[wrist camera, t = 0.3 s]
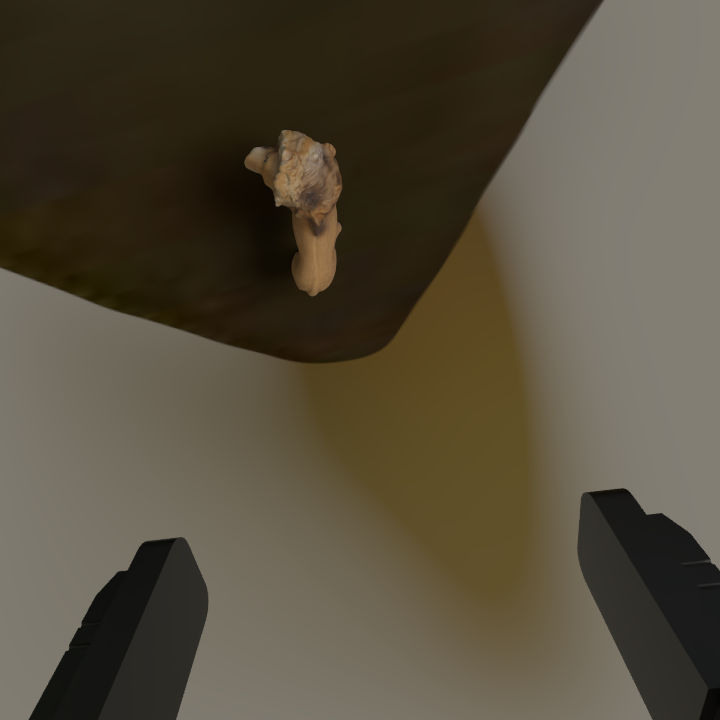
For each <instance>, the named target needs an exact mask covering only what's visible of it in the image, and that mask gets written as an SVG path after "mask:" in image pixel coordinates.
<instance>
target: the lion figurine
mask: <svg viewBox="0 0 720 720" xmlns="http://www.w3.org/2000/svg"><path fill="white" fill-rule="evenodd" d="M335 153H336V151H335V148H334V147H333V146H332V145H331V144H329V143H324V144H320V143H318V142H315V141H313V140H312V139H311V138H310V137H307V136H306V135H305V134H303V133H302V134H301V133H300V132H297V131H290V130H283V131H281V135H280V136H279V138H278V144H277V146H275V147H264V146H263V147H256V148H254V149H253V150H252V151H251V152H250V154H249V155H248V156H247V157H246V159H245V166H246V167H247V168H248V169H250V170H252V171H254V172H256V173H259V174H261V175H262V176H263V179H264V182H265V184H266V185H267V186H268V187H270V188H271V189H272V190H273V194H274V196H275V202H276V206H280V205H284V206H287V207H289V209H290V210H291V211H292V223H293V230H294V235H295V238H296V242H297V246H298V249H299V252H296V253H295V254H294V257H293V260H292V274H293V277H294V280H295V282H296V284H297V286H298V288H299V289H300V290H303V291H307V292H308V294H309V295H310V296H315V295H317V293H318V292H319V291H323V290H324V289H326V288H327V287H328V286H329V285H330V283H331V281H332V279H333V277H334V274H335V270H336V251H335V248H334V246H335V241H336V238H337V236H338V234H339V233H340V231H341V225H340V223H339V222H337V210H336V202H337V200H338V198H339V195H340V193H341V190H342V182H341V175H340V173H339V167H338V163H337V161H336V159H335V158H334V156H335Z"/></svg>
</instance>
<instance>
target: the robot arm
mask: <svg viewBox="0 0 720 720" xmlns="http://www.w3.org/2000/svg"><path fill="white" fill-rule="evenodd" d="M578 558H579V563H580V566H581V570H582V573H583V576H584V579H585V581H586V583H587V585H588V587H589V589H590V591H591V593H592V596H593V598H594V600H595V602H596V604H597V606H598V608H599V610H600V612H601V614H602V616H603V618H604V620H605V622H606V624H607V626H608V629H609V631H610V633H611V635H612V637H613V639H614V641H615V643H616V645H617V647H618V649H619V651H620V653H621V655H622V657H623V660H624V662H625V664H626V666H627V668H628V670H629V672H630V674H631V676H632V678H633V680H634V682H635V684H636V686H637V688H638V690H639V692H640V695H641V697H642V699H643V701H644V703H645V705H646V707H647V709H648V711H649V713H650V715H651V717H652V719H653V720H720V571H719V569H718V568H717V567H716V565H714V564H712V563H711V561H710V558H709V557H708V555H707V554H706V553H705V551H704V550H703V549H702V548H701V547H700V545H699V544H698V543H697V541H696V540H695V539H694V538H693V536H692V535H691V534H690V533H689V532H688V531H686V530H685V529H683V528H682V527H681V526H679V525H677V524H676V523H675V522H673V521H672V520H671V519H669V518H668V517H666V516H665V515H663V514H662V513H660V514H651V515H646V514H645V512H644V511H643V509H642V508H641V507H640V505H639V504H638V502H637V501H636V500H635V498H634V497H633V496H632V494H631V493H630V492H629V491H628V490H627V489H623V488H622V489H612V490H603V491H595V492H586V493H583V495H582V498H581V507H580V520H579V533H578ZM207 612H208V592H207V587H206V584H205V582H204V580H203V577H202V575H201V572H200V570H199V568H198V566H197V563H196V561H195V559H194V556H193V554H192V551H191V549H190V547H189V545H188V543H187V541H186V540H185V539H184V538H182V537H179V538H170V539H162V540H153V541H146V542H144V543H143V544H142V545H141V546H140V547H139V549H138V551H137V553H136V555H135V557H134V559H133V561H132V563H131V565H130V567H129V569H128V570H127V571H119V572H117V573H116V575H115V576H114V577H113V578H112V579H111V580H110V581H109V582H108V583H107V584H106V585H105V586H104V587H103V589H102V590H101V591H100V592H99V593H98V594H97V595H96V597H95V598H94V600H93V602H92V604H91V606H90V607H89V609H88V611H87V613H86V615H85V617H84V619H83V620H82V626H81V628H78V630H77V632H76V633H75V635H74V637H73V639H72V641H71V642H70V644H69V650H68V651H66V652H65V654H64V655H63V657H62V659H61V661H60V663H59V665H58V666H57V668H56V670H55V672H54V674H53V676H52V678H51V679H50V681H49V683H48V685H47V687H46V689H45V691H44V692H43V694H42V696H41V698H40V700H39V702H38V703H37V705H36V707H35V709H34V711H33V713H32V715H31V716H30V718H29V720H176V717H177V714H178V711H179V708H180V704H181V701H182V698H183V694H184V691H185V688H186V684H187V681H188V678H189V674H190V671H191V668H192V664H193V661H194V658H195V654H196V651H197V647H198V644H199V641H200V637H201V634H202V631H203V628H204V624H205V621H206V617H207Z"/></svg>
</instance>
